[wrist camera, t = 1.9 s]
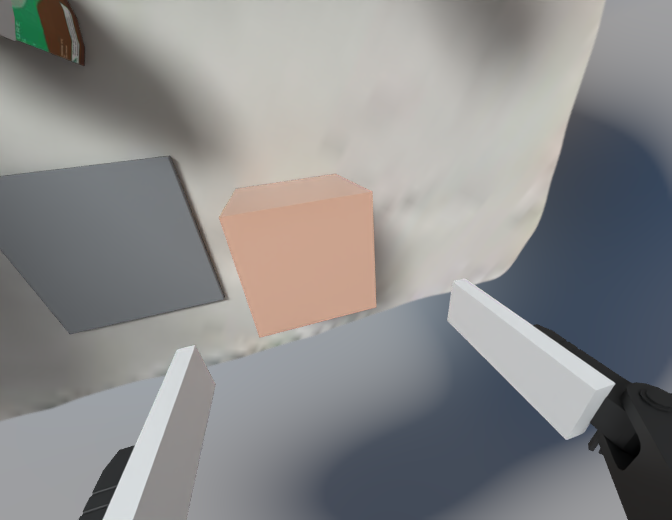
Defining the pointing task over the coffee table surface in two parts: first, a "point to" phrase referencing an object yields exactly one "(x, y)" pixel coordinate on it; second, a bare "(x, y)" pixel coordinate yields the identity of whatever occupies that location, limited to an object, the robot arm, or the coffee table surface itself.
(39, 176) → the mat
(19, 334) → the coffee table surface
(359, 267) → the salmon peach cube
